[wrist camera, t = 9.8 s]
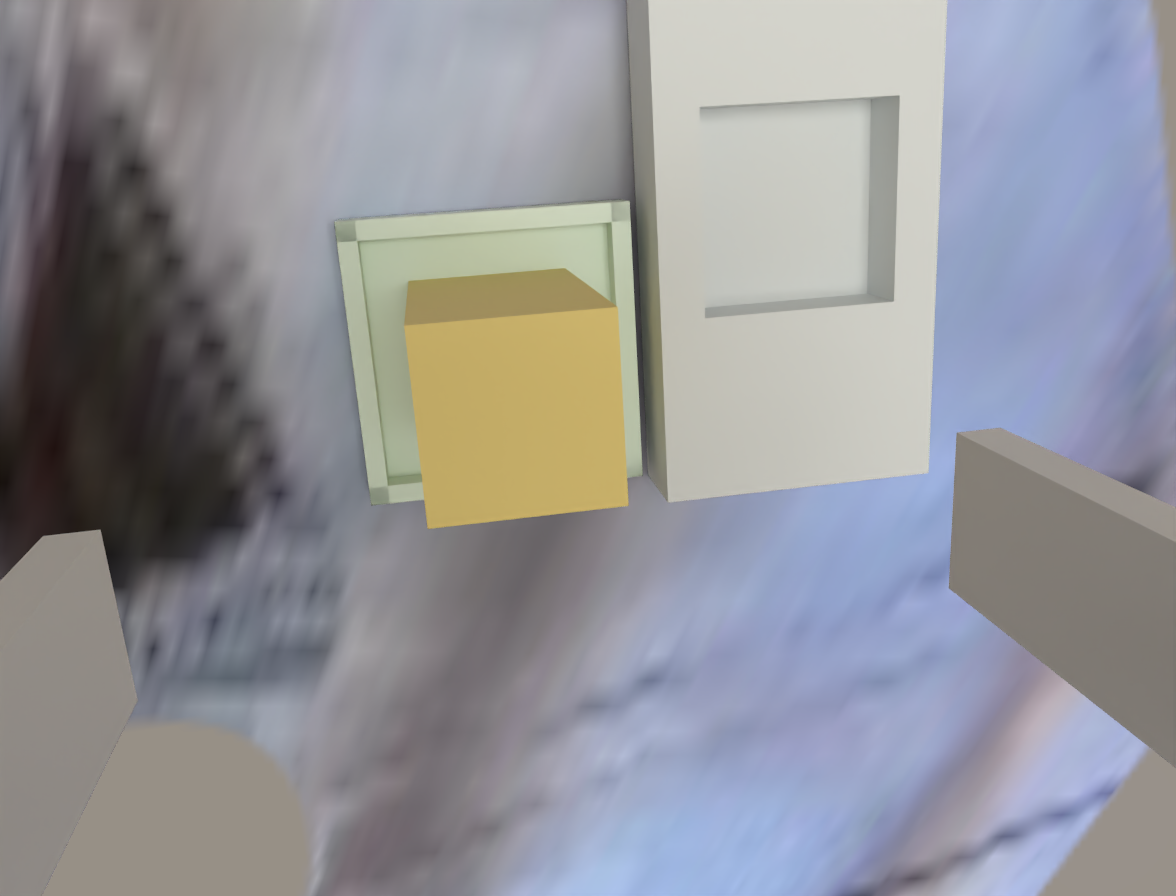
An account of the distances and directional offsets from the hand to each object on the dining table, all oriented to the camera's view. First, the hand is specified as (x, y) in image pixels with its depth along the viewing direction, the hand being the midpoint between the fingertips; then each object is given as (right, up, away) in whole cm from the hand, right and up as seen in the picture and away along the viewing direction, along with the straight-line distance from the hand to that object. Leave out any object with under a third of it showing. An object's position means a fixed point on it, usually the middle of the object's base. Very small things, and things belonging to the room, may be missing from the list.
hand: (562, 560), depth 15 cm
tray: (-3, +5, +18) cm, 19 cm away
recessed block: (+6, +10, +18) cm, 21 cm away
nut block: (-3, +5, +17) cm, 18 cm away
